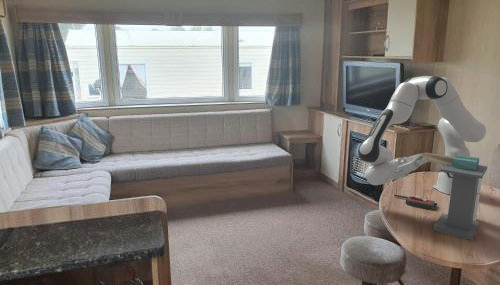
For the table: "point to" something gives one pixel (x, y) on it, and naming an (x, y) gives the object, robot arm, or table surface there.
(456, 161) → the tan and teal block
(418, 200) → the walkie-talkie
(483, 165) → the cylindrical container
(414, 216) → the table surface
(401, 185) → the table surface
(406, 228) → the table surface
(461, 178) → the stand
